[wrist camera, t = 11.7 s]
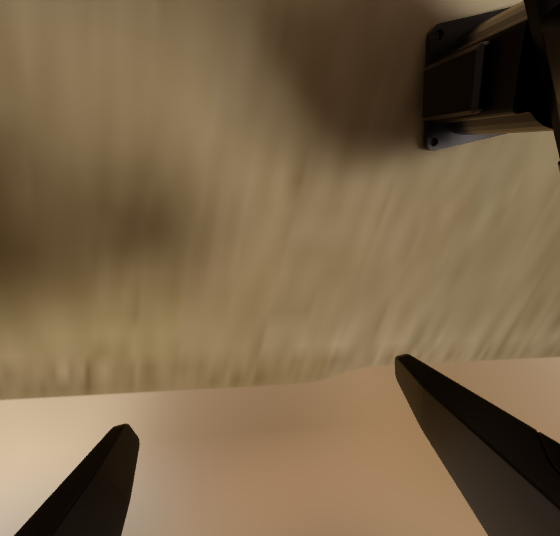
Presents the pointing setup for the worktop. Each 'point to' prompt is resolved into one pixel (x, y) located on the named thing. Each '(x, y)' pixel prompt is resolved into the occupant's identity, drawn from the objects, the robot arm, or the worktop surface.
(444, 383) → the robot arm
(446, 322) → the worktop surface
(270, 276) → the worktop surface
